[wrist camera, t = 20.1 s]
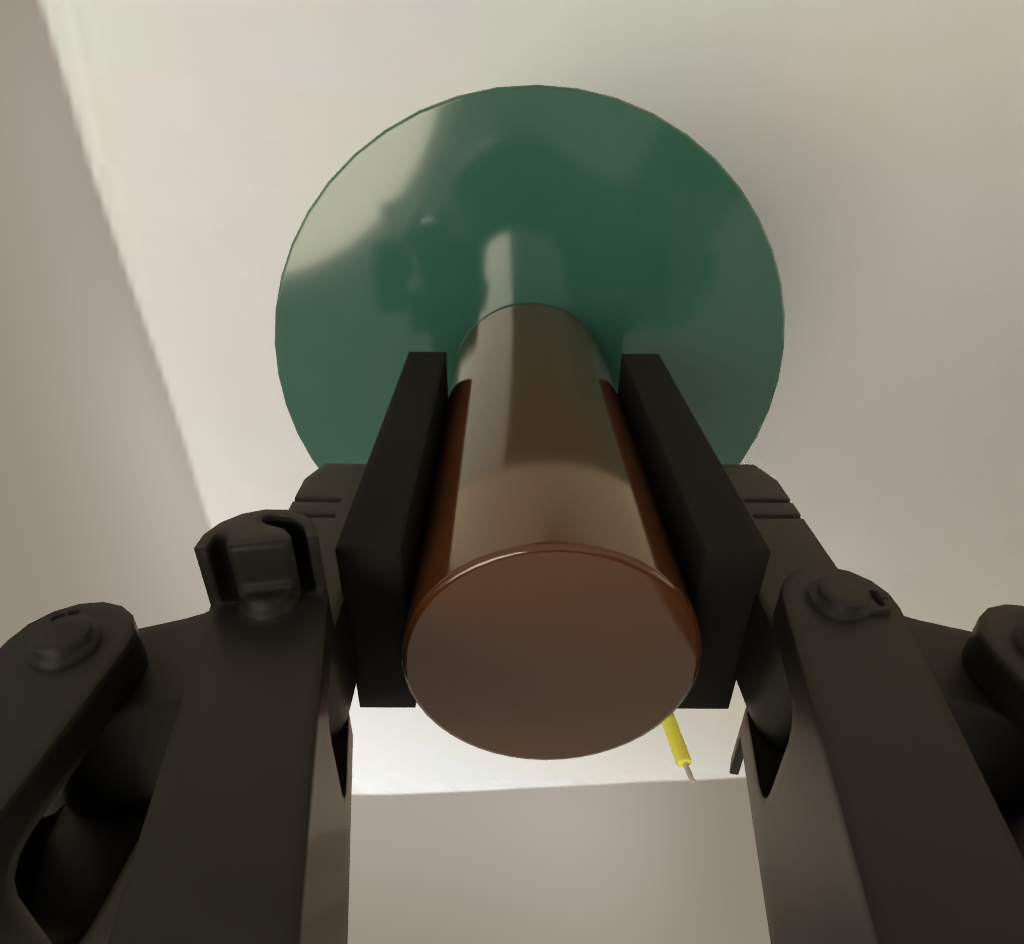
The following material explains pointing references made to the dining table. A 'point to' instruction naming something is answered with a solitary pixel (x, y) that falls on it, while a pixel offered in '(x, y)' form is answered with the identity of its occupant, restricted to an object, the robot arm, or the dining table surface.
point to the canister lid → (535, 390)
